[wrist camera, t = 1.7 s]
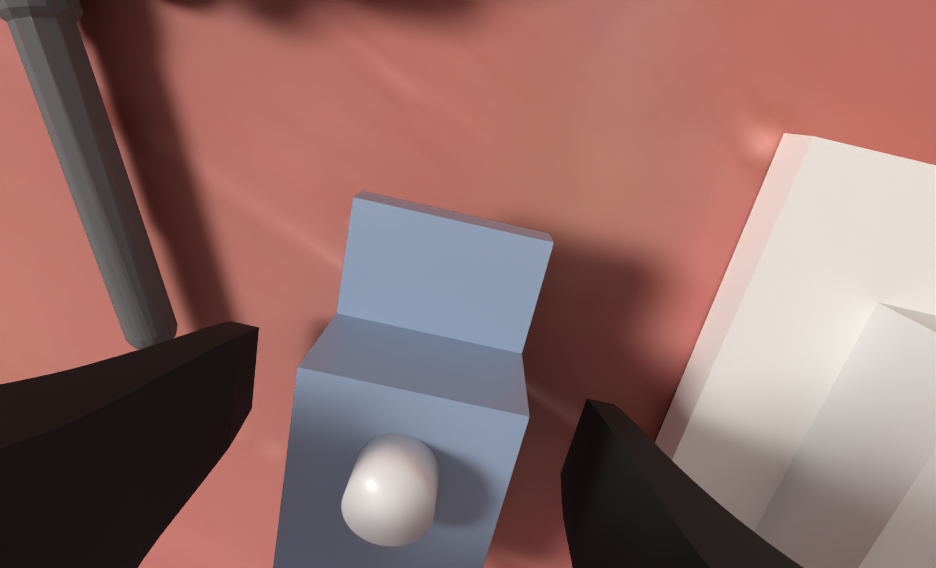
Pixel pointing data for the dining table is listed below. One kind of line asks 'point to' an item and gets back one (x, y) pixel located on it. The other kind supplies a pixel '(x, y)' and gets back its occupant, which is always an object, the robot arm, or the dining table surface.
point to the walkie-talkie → (91, 163)
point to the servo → (412, 392)
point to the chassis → (823, 363)
